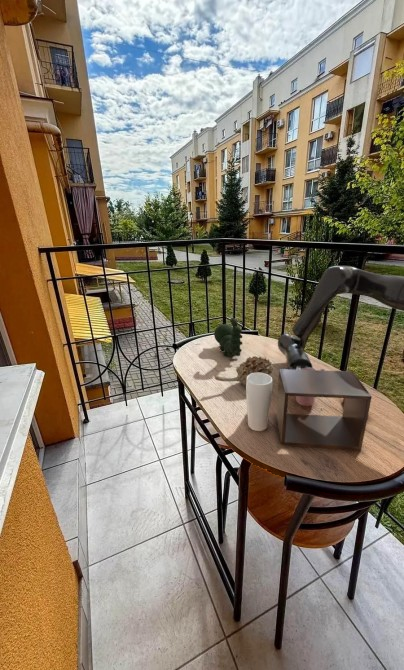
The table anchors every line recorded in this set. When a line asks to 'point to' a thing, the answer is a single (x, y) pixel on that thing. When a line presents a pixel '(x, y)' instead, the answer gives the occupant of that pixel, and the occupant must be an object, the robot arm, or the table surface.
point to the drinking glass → (258, 400)
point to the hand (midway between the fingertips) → (308, 388)
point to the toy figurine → (229, 338)
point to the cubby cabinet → (316, 427)
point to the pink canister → (303, 399)
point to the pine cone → (250, 369)
